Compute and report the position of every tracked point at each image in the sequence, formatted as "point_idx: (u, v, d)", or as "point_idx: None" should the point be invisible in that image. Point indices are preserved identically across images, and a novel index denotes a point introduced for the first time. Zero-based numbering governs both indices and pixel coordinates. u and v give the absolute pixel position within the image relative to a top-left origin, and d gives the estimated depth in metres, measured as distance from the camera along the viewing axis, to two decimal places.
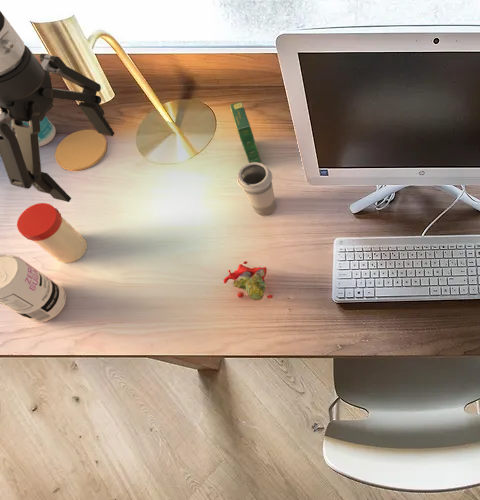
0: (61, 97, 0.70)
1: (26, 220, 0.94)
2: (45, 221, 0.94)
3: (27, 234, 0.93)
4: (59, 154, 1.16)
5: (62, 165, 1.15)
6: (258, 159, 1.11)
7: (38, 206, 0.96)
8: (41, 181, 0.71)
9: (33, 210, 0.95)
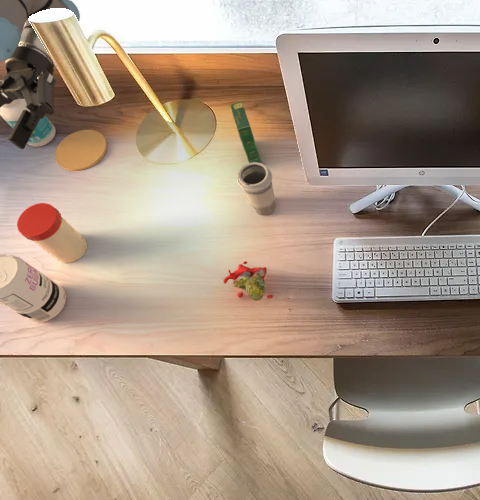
0: (11, 101, 0.95)
1: (26, 220, 0.94)
2: (45, 221, 0.94)
3: (27, 234, 0.93)
4: (59, 154, 1.16)
5: (62, 165, 1.15)
6: (258, 159, 1.11)
7: (38, 206, 0.96)
8: None
9: (33, 210, 0.95)
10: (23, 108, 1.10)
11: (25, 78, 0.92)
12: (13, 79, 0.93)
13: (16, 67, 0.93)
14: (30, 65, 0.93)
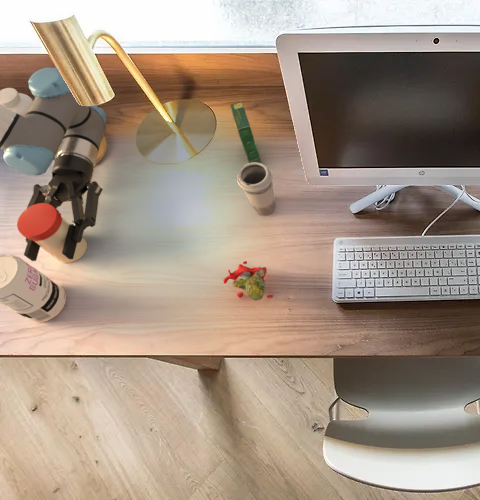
0: (60, 203, 1.05)
1: (26, 220, 0.94)
2: (45, 221, 0.94)
3: (27, 234, 0.93)
4: None
5: None
6: (258, 159, 1.11)
7: (38, 206, 0.96)
8: None
9: (33, 210, 0.95)
10: (23, 108, 1.10)
11: (76, 183, 1.04)
12: (62, 183, 1.04)
13: (64, 173, 1.04)
14: (78, 171, 1.05)
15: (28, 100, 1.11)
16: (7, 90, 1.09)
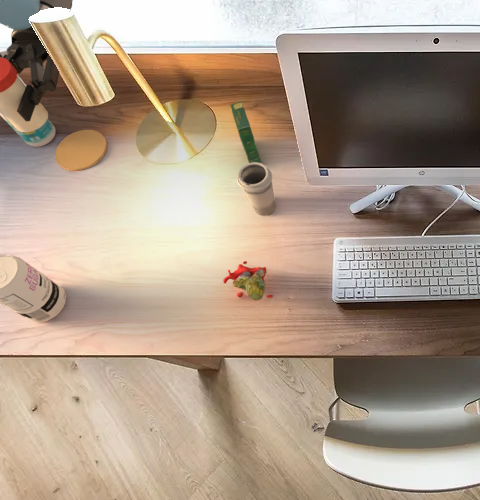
0: (20, 71, 0.99)
1: None
2: None
3: None
4: (59, 154, 1.16)
5: (62, 165, 1.15)
6: (258, 159, 1.11)
7: None
8: None
9: None
10: None
11: (36, 48, 0.98)
12: (22, 48, 0.98)
13: (24, 37, 0.98)
14: None
15: None
16: None
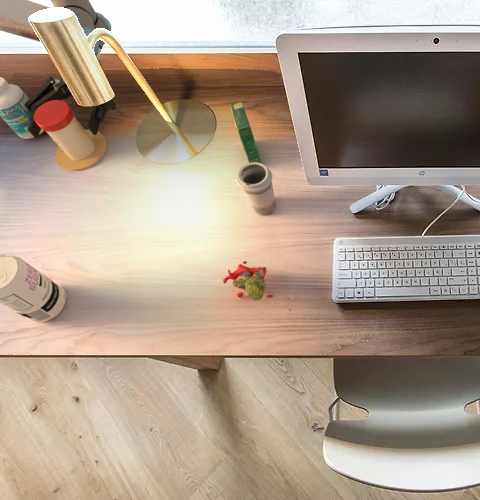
0: (67, 97, 1.17)
1: (42, 113, 1.06)
2: (59, 114, 1.06)
3: (43, 124, 1.05)
4: (59, 154, 1.16)
5: (62, 165, 1.15)
6: (258, 159, 1.11)
7: (52, 102, 1.08)
8: None
9: (48, 105, 1.07)
10: (13, 94, 1.11)
11: None
12: None
13: None
14: None
15: (16, 86, 1.12)
16: None
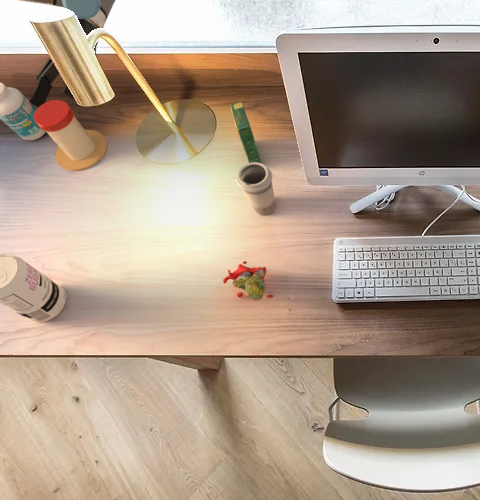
0: None
1: (42, 113, 1.06)
2: (59, 114, 1.06)
3: (43, 124, 1.05)
4: (59, 154, 1.16)
5: (62, 165, 1.15)
6: (258, 159, 1.11)
7: (52, 102, 1.08)
8: None
9: (48, 105, 1.07)
10: (15, 98, 1.10)
11: None
12: None
13: None
14: None
15: (15, 90, 1.12)
16: None
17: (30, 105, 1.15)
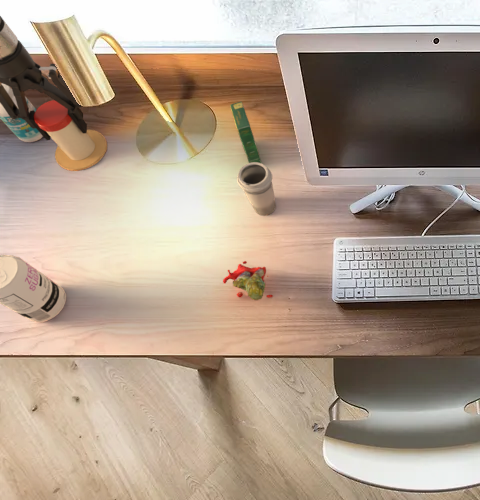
0: (39, 90, 0.99)
1: (42, 113, 1.06)
2: (59, 114, 1.06)
3: (43, 124, 1.05)
4: (59, 154, 1.16)
5: (62, 165, 1.15)
6: (258, 159, 1.11)
7: (52, 102, 1.08)
8: (29, 120, 1.06)
9: (48, 105, 1.07)
10: None
11: None
12: None
13: None
14: None
15: None
16: None
17: (32, 110, 1.15)
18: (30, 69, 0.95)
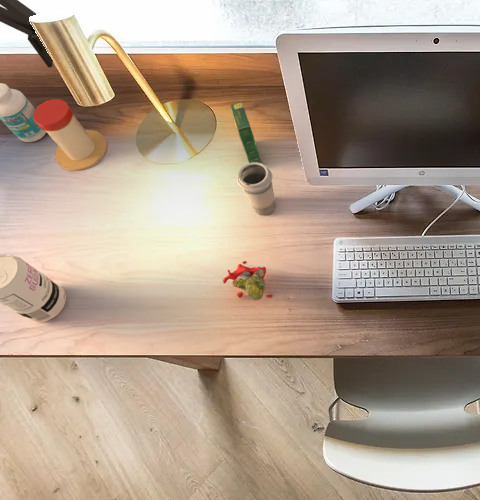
0: None
1: (59, 110, 1.06)
2: (42, 110, 1.06)
3: (58, 100, 1.08)
4: (59, 154, 1.16)
5: (62, 165, 1.15)
6: (258, 159, 1.11)
7: (49, 122, 1.05)
8: None
9: (53, 118, 1.05)
10: (16, 102, 1.11)
11: None
12: None
13: None
14: None
15: (19, 94, 1.12)
16: None
17: (31, 110, 1.15)
18: None
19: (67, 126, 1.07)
